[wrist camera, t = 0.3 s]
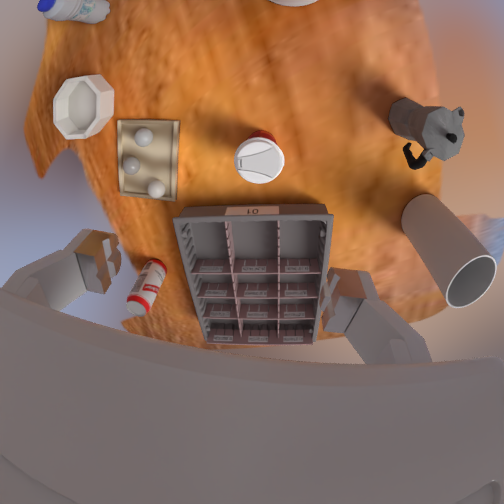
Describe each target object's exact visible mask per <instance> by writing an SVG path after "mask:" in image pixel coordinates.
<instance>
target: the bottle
mask: <svg viewBox="0 0 504 504" xmlns="http://www.w3.org/2000/svg"><path fill="white" fill-rule="evenodd" d="M109 7H110V4H109V2H107V1H106V0H40V1H39V3H38V6H37V8H38V10H39V11H41V12H43V15H44V17H45V18H48V19H52V20H55V21H64V20H73V21H81V22H85V23H89V24H96V23H98V22H100V21H103V20H104V19H105V18H106V17H105V16H106V15H107V14H108V13H110V9H109Z"/></svg>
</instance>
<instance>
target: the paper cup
mask: <svg viewBox="0 0 504 504" xmlns="http://www.w3.org/2000/svg"><path fill="white" fill-rule="evenodd" d="M234 164H235V168H236V170H237V172H238V173H239V175H240V176H241V177H242V178H244V179H245V180H247V181H249V182H252V183H258V184H261V183H267V182H269V181H271V180H273V179H275V178H276V177H277V176H278V175H279V173H280V172H281V170H282V168H283V166H284V155H283V153H282V151H281V150H280V148H279V147H278V146H277V143H276V140H275V138H274V137H273V136H272V134H270V133H269V132H267V131H256V132H254V133H253V134H251V135H250V136H249V138H248V139H247V140H246V141H244V142H243V143H242V144H241V145H240V146H239V147H238V149H237V150H236V153H235V157H234Z"/></svg>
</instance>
